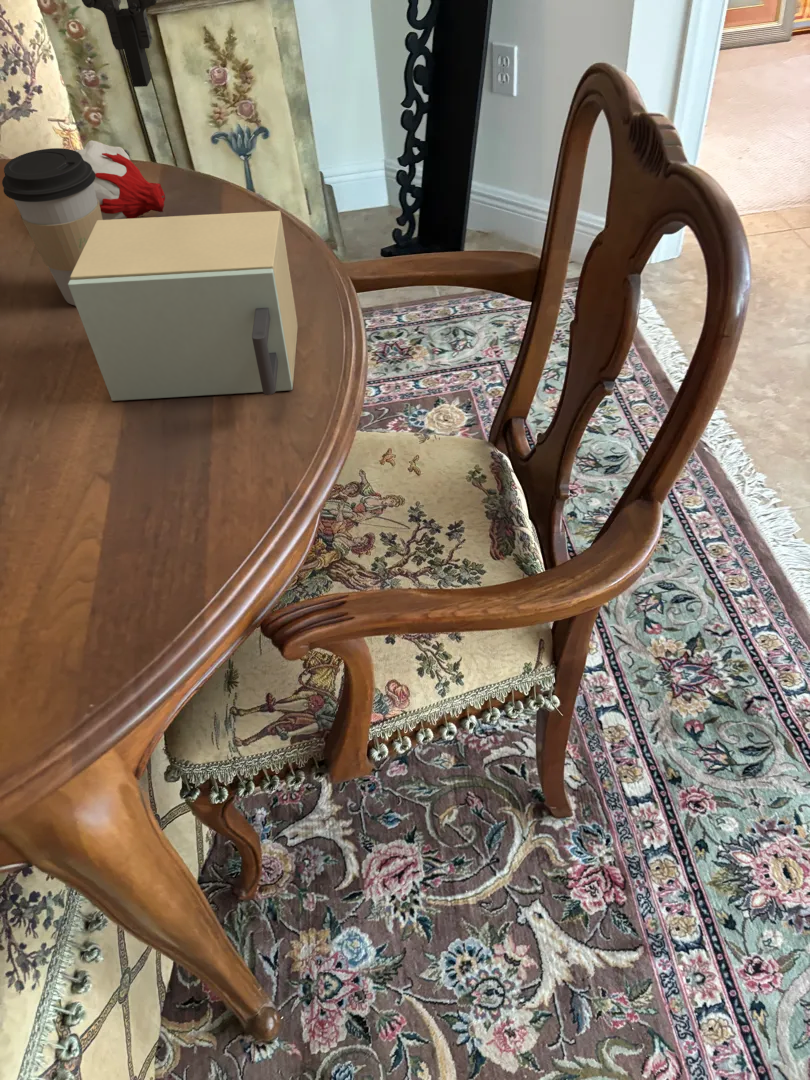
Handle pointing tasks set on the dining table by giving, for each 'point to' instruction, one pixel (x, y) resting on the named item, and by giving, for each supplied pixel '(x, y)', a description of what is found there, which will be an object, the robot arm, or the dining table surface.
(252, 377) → the cupboard door
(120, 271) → the cupboard
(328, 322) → the dining table surface
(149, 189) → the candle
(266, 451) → the dining table surface
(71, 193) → the coffee cup
